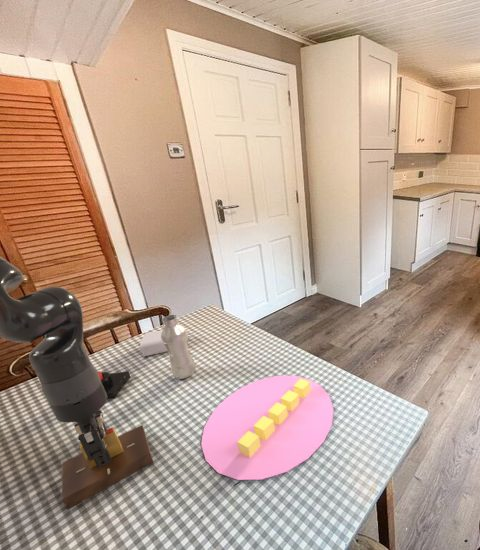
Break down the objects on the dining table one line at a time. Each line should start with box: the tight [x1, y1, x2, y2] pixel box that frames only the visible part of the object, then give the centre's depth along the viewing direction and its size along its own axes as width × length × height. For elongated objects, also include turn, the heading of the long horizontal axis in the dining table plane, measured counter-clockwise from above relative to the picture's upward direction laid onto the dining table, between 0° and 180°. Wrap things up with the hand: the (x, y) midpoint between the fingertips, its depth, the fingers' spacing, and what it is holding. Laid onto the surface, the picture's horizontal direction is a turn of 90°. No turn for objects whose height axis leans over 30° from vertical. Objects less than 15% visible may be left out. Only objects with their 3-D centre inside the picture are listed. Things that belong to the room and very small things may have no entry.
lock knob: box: [79, 426, 123, 468], centre depth 63 cm, size 6×2×6 cm, turn 132°
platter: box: [200, 375, 334, 481], centre depth 77 cm, size 32×32×3 cm
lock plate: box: [61, 424, 155, 510], centre depth 65 cm, size 14×10×3 cm
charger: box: [139, 329, 194, 358], centre depth 106 cm, size 5×9×15 cm
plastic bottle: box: [161, 314, 197, 380], centre depth 89 cm, size 6×7×20 cm
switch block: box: [100, 370, 131, 401], centre depth 86 cm, size 12×9×4 cm
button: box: [97, 370, 103, 380], centre depth 85 cm, size 4×4×2 cm
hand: (103, 449), depth 64 cm, fingers open, 8 cm apart
